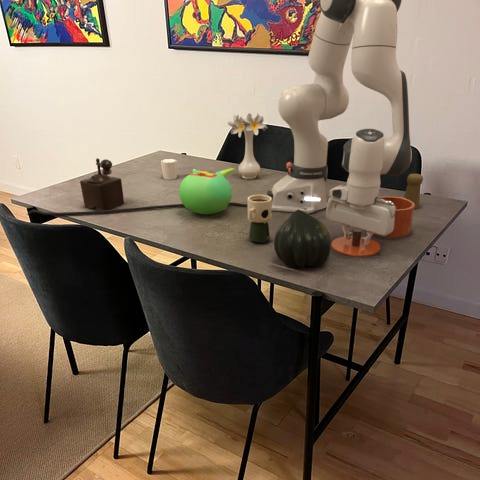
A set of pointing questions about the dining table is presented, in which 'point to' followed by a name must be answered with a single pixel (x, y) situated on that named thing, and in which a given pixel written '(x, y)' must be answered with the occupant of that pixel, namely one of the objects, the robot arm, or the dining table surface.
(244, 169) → the flower vase
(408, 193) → the cork
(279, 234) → the squash
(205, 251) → the dining table surface
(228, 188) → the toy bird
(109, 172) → the coffee grinder
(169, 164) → the white short cylinder
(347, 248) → the lid
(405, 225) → the pot
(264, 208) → the character mug
